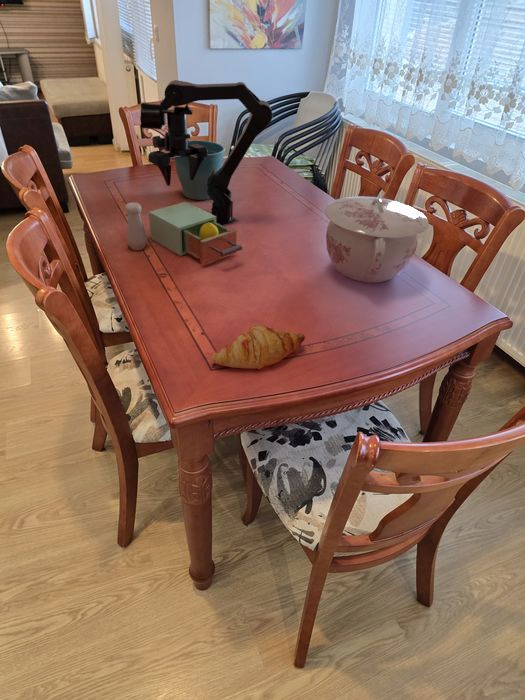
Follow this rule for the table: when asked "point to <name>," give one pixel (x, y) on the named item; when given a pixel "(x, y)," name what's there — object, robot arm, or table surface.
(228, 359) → the croissant
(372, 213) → the chamber pot
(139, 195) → the table surface
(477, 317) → the table surface
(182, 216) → the pale green box
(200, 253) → the drawer
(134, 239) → the salt shaker
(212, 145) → the flower pot
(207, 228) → the lemon
